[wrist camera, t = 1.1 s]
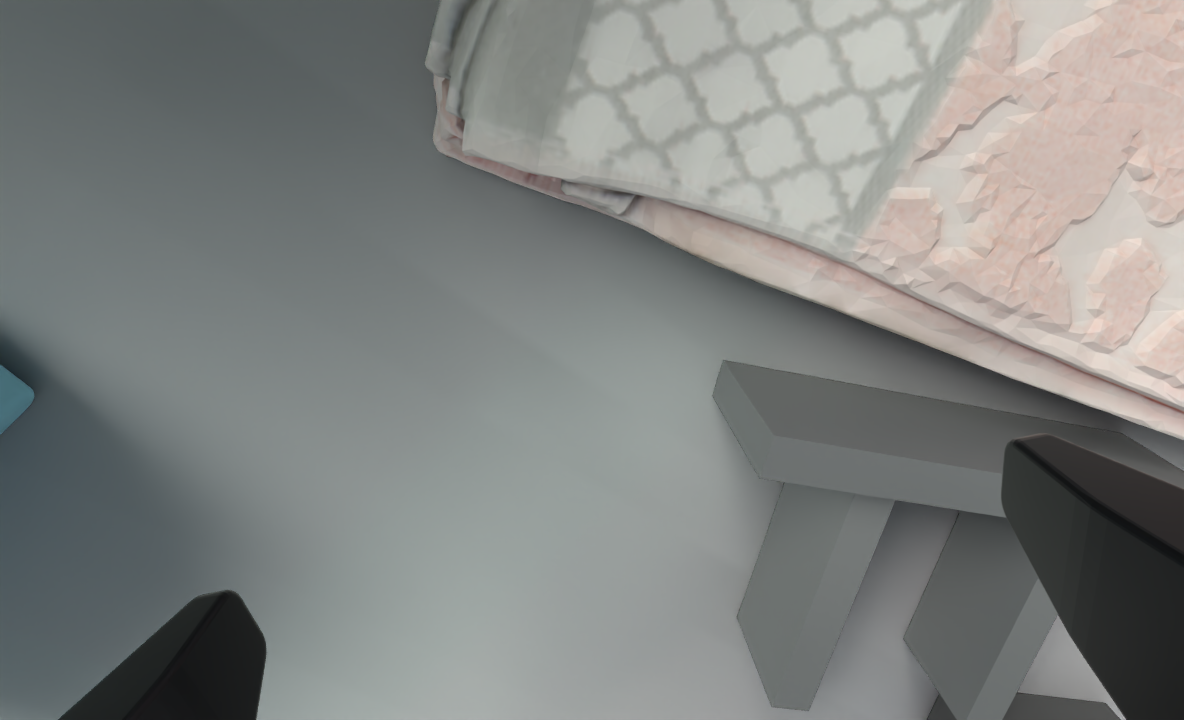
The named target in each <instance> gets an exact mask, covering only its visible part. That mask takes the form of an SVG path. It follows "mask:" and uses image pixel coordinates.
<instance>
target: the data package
mask: <svg viewBox="0 0 1184 720" xmlns="http://www.w3.org/2000/svg"><path fill="white" fill-rule="evenodd" d="M33 399H34V392H33V390H32V389H31V388H30V387H29V386H28V385H26V384H25V383H24V382H23V381H21V380H20V379H19V378H17V377H16V376H15V375H13V374H12V373H11V372H10V371H8V370H7V369H6V368H4V367H3V366H2V365H0V435H1V434H2V433H3V432H4V431H5V430H6V429H7V428H8V427H9V426H10V425H11V424H12V423H13V422H14V421H15V420H16V419H17V418H18V417H19V416H20V415H21V414H22V413H23V412H24V411H25V410H26V409H27V408H28V407H29V406H30V404H31V403H32V401H33Z"/></svg>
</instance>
